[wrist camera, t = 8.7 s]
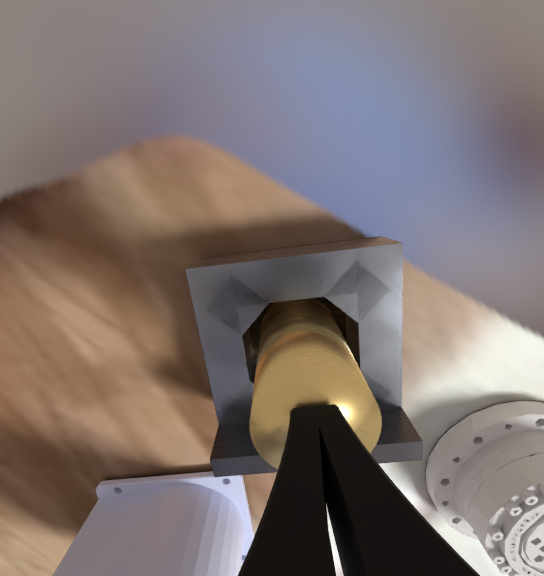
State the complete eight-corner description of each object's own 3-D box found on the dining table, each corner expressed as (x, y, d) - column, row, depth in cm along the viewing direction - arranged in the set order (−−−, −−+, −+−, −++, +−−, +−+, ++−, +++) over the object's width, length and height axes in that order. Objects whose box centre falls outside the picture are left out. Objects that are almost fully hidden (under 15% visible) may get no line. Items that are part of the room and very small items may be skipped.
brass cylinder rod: (268, 367, 16) (263, 485, 9) (254, 301, 15) (236, 381, 8) (338, 356, 16) (386, 469, 9) (329, 288, 15) (376, 359, 8)
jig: (229, 406, 17) (214, 477, 12) (200, 258, 14) (167, 281, 10) (383, 392, 16) (421, 459, 12) (380, 236, 14) (428, 250, 9)
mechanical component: (531, 366, 16) (391, 460, 18) (623, 424, 12) (426, 538, 14) (612, 464, 18) (477, 539, 20) (717, 545, 14) (532, 630, 16)
